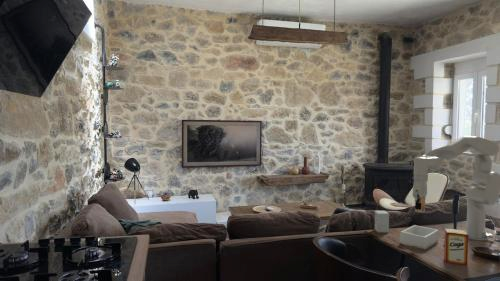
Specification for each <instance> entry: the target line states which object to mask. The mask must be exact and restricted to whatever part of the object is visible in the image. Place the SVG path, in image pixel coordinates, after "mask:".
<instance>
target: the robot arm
mask: <svg viewBox="0 0 500 281" xmlns="http://www.w3.org/2000/svg"><path fill="white" fill-rule="evenodd" d="M467 151H470V152H471V154H472V156H473V157H474V160H475V161H474V162H475V163H474V168H473V171H472V172H473V173H472V175H471V176H472V177H471V180H472V183H474V184H475V185H477V186H470V187H468V188H467V189H466V191H465V197H466V198H465V199H466V206H467V207H466V208H467V209H466V232H467V234H468V240H469V239H470V240H473V241H482V242H483V241H488V240H489V239H494V235H493V234H492V233H487V230H486V212H487V210H486V207H485V206H491V207H492V206H494V205H496V204H497V202H498V200H499V196H500V173H499V172H496V171H492V166H493V164H492V163H493V162H492V158H491V157H494V156H496V155H497V154H499V152H500V146H499V144H498V143H497V142H495V141H493V140H490V139H486V138H484V137H480V136H476V135H475V136H474V135H472V136H471V135H464V136H463V135H462V136H461V137H459V138H457V139H455V140H454V141H452V142H451V143H448V144H446V145H444V146H442V147H441V146H440V147H438V148H435V149H432V150H429V151H428V152H425V153H424V154H422V155H421V156H415V157H414V158H413V159H414V160H413V186H412V197H413V198H414V202H415V203H414V204H415V206H414V210H415V209H419V210H421V198H422V197H423V195H425V199H426V198H427V195H428V180H429V170H433V171H435V170H440V169H441V168H443V165H444V161H443V160H452V159H455V158H457V157H458V156H460V155H462V154H464V153H465V152H467ZM480 186H481V187H480ZM482 186H483V187H482ZM418 196H420V197H418ZM418 198H419V199H418ZM488 238H489V239H488Z"/></svg>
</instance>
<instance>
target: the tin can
mask: <svg viewBox="0 0 500 281" xmlns="http://www.w3.org/2000/svg"><path fill="white" fill-rule="evenodd" d="M418 197H420V196H418ZM418 199H419V198H418ZM425 209H426V198H425V195H423V197H422V198H421V210H419V209H415V208H414V211H415V212H417V213H425V212H426V211H425Z"/></svg>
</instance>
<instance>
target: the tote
mask: <svg viewBox="0 0 500 281" xmlns="http://www.w3.org/2000/svg"><path fill="white" fill-rule="evenodd" d="M399 233H400V235H399V237H400V238H399V239H400V241H399V243H401V245H404V246H408V247H412V248H416V249H420V250H425V249H426V250H427V249H429V248H430V247H432V246H435V245H436V244H437V243H438V242H439V229H435V228H431V227H425V226H421V225H420V226H419V225H416V224H413V225H411V226H410V227H408V228H405V229H403V230H401V231H400V232H399Z"/></svg>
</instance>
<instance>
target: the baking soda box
mask: <svg viewBox="0 0 500 281" xmlns="http://www.w3.org/2000/svg"><path fill="white" fill-rule="evenodd" d="M443 243H444V245H443V246H444V247H443V248H444V249H443V259H444V261H445V264H446V263H447V264H453V265H462V266H468V255H469V254H468V252H469V238H468V234H467V230H463V229H462V230H461V229H456V228H444V241H443Z"/></svg>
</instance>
